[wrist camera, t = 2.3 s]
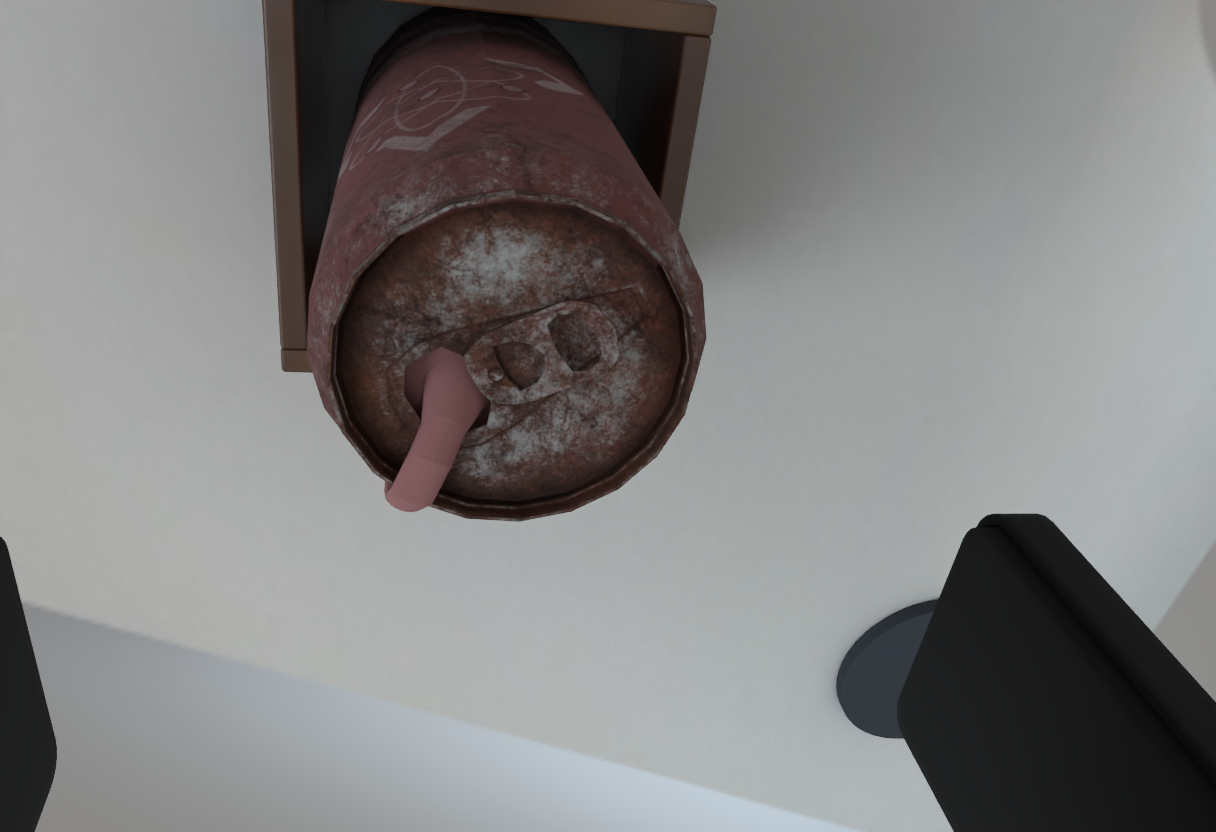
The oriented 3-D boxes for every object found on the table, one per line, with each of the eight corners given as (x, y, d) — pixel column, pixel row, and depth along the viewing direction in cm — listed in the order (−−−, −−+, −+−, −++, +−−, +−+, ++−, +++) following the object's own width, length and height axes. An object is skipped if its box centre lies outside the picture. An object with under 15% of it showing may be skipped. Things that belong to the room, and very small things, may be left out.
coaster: (1034, 597, 39) (1041, 607, 39) (974, 724, 43) (981, 735, 43) (863, 600, 38) (868, 610, 37) (817, 731, 42) (821, 742, 41)
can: (319, 178, 26) (228, 481, 14) (418, -49, 23) (410, 86, 11) (519, 271, 28) (586, 598, 16) (629, 73, 26) (801, 290, 14)
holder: (657, -33, 24) (718, 6, 19) (612, 285, 29) (652, 384, 24) (295, -78, 22) (259, -48, 17) (308, 269, 27) (281, 372, 22)
